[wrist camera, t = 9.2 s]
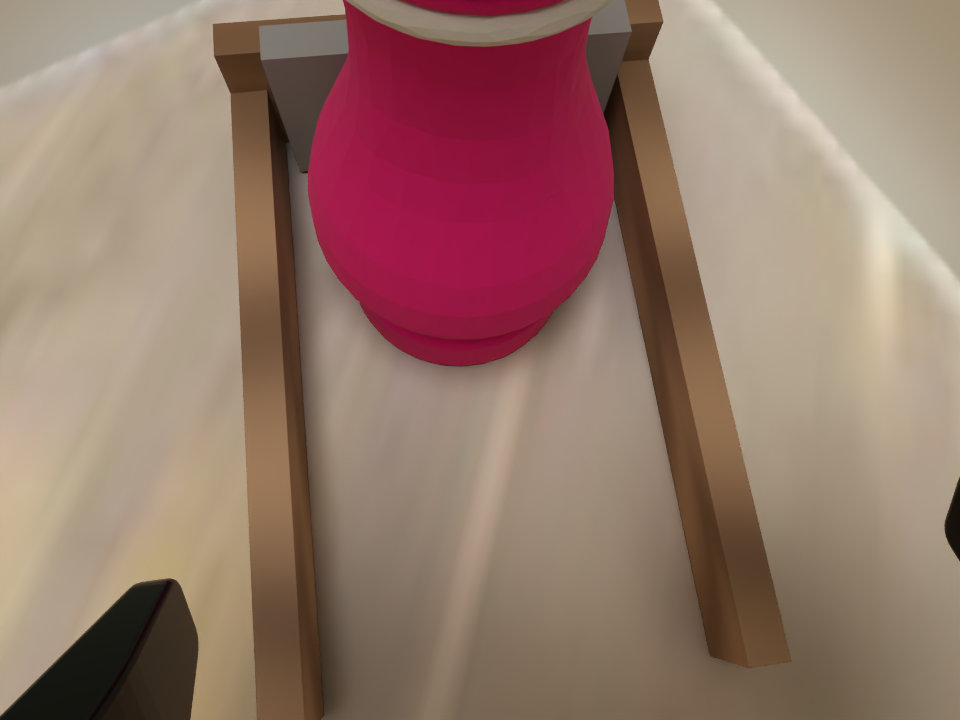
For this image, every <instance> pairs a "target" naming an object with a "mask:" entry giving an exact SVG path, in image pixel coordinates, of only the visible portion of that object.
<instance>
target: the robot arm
mask: <svg viewBox="0 0 960 720" xmlns="http://www.w3.org/2000/svg"><path fill="white" fill-rule="evenodd" d="M945 535H946V538H947V541H948V543H949V545H950V547H951V548H952V550H953V551H954V553H955V555H956V556H957V558H958V559H959V561H960V478H959V480H958V483H957V486H956V489H955V492H954V495H953V498H952V501H951V504H950V507H949V510H948V514H947V517H946V520H945ZM197 659H198V635H197V630H196V627H195V624H194V622H193V619H192V616H191V613H190V610H189V608H188V605H187V602H186V599H185V597H184V594H183V591H182V588H181V586H180V584H179V583H178V582H177V581H176V580H174V579H170V578H168V579H160V580H153V581H146V582H140V583H137V584H135V585H133V586H132V587H131V588H130V589H128V590H127V591H126V592H125V593H124V594H123V595H122V596H121V597H120V598H119V599H118V600H117V601H116V602H115V603H114V604H113V605H112V606H111V607H110V608H109V609H108V610H107V611H106V612H105V613H104V614H103V615H102V616H101V617H100V618H99V619H98V620H97V621H96V622H95V623H94V624H93V625H92V626H91V627H90V628H89V629H88V630H87V631H86V632H85V633H84V634H83V635H82V636H81V637H80V638H79V639H78V640H77V641H76V642H75V643H74V644H73V645H72V646H71V647H70V648H69V649H68V650H67V651H66V652H65V653H64V654H63V655H62V656H61V657H60V658H59V659H57V660H56V661H55V662H54V663H53V664H52V665H51V666H50V667H49V668H48V669H47V670H46V671H45V672H44V673H43V674H42V675H41V676H40V677H39V678H38V679H37V680H36V681H35V682H34V683H33V684H32V685H31V686H30V687H29V688H28V689H27V690H26V691H25V692H24V693H23V694H22V695H21V696H20V697H19V698H18V699H17V700H16V701H15V702H14V703H13V704H12V705H11V706H10V707H9V708H8V709H7V710H6V711H5V712H4V713H3V714H2V715H1V716H0V720H190V717H191V709H192V701H193V692H194V684H195V676H196V667H197Z"/></svg>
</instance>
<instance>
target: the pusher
mask: <svg viewBox="0 0 960 720" xmlns="http://www.w3.org/2000/svg"><path fill="white" fill-rule="evenodd" d="M631 33H632V30H631V26H630V21H629V17H628V13H627V8H626V4H625V0H614V1H613V2H611V3H610V4H609V5H607V6H606V7H605V8H603V9H602V10H601V11H599V12H598V13H597V14H595V15H594V16H593V17H592V19H591V23H590V28H589V32H588V37H587V42H586V47H585V54H586V61H587V65H588V69H589V72H590V76H591V79H592V82H593V85H594V88H595V91H596V94H597V97H598V100H599V103H600V106H601V109H602V112H603V113H604V110H605V108H606V105H607V102H608V99H609V96H610V93H611V90H612V87H613V85H614V82H615V79H616V76H617V73H618V70H619V67H620V64H621V62H622V59H623V56H624V53H625V50H626V47H627V44H628V41H629V38H630V36H631ZM259 37H260V54H261V62H262V65H263V68H264V70H265V73H266V76H267V79H268V82H269V85H270V87H271V90H272V93H273V96H274V99H275V101H276V104H277V107H278V110H279V113H280V115H281V118H282V121H283V124H284V127H285V129H286V132H287V135H288V138H289V141H290V144H291V146H292V149H293V152H294V155H295V158H296V160H297V163H298V166H299V169H300V172H304V171H308V169H309V162H310V156H311V149H312V144H313V140H314V135H315V131H316V126H317V122H318V118H319V115H320V113H321V111H322V108H323V106H324V103H325V101H326V99H327V97H328V95H329V93H330V91H331V89H332V87H333V85H334V83H335V81H336V79H337V77H338V75H339V73H340V71H341V69H342V67H343V66H344V64H345V62H346V60H347V57H348V50H349V46H348V35H347V23H346V20H335V21H321V22H307V23H294V24H280V25H266V26H259Z"/></svg>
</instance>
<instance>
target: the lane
mask: <svg viewBox="0 0 960 720" xmlns="http://www.w3.org/2000/svg"><path fill="white" fill-rule="evenodd" d="M625 4H626V8H627V13H628V17H629V21H630V26H631V30H632V33H631V36H630V38H629V41H628V44H627V47H626V50H625V53H624V56H623V59H622V62H621V64H620V67H619V70H618V73H617V76H616V79H615V82H614V85H613V87H612V90H611V93H610V96H609V99H608V102H607V105H606V108H605V110H604V113H603V115H604V118H605V121H606V124H607V127H608V130H609V138H610V145H611V153H612V161H613V170H614V197H615V202H616V206H617V211H618V216H619V221H620V226H621V230H622V235H623V240H624V245H625V250H626V254H627V259H628V264H629V269H630V273H631V278H632V283H633V288H634V293H635V297H636V302H637V307H638V312H639V317H640V321H641V326H642V331H643V336H644V341H645V345H646V350H647V355H648V360H649V365H650V369H651V374H652V379H653V384H654V389H655V393H656V398H657V403H658V408H659V413H660V417H661V422H662V427H663V432H664V437H665V441H666V446H667V451H668V456H669V461H670V465H671V470H672V475H673V480H674V485H675V489H676V494H677V499H678V504H679V509H680V513H681V518H682V523H683V528H684V533H685V537H686V542H687V547H688V552H689V557H690V561H691V566H692V571H693V576H694V581H695V585H696V590H697V595H698V600H699V604H700V609H701V614H702V619H703V624H704V628H705V633H706V638H707V643H708V648H709V652H710V656H712V657H715V658H718V659H722V660H725V661H728V662H731V663H735V664H738V665H741V666H744V667H748V668H753V667H760V666H766V665H772V664H779V663H785V662H791V658H790V654H789V650H788V645H787V641H786V637H785V633H784V629H783V624H782V620H781V616H780V612H779V608H778V603H777V599H776V595H775V591H774V586H773V582H772V578H771V574H770V570H769V565H768V561H767V557H766V553H765V549H764V544H763V540H762V536H761V532H760V528H759V523H758V519H757V515H756V511H755V506H754V502H753V498H752V494H751V490H750V485H749V481H748V477H747V473H746V469H745V464H744V460H743V456H742V452H741V448H740V443H739V439H738V435H737V431H736V426H735V422H734V418H733V414H732V410H731V405H730V401H729V397H728V393H727V389H726V384H725V380H724V376H723V372H722V368H721V363H720V359H719V355H718V351H717V346H716V342H715V338H714V334H713V330H712V325H711V321H710V317H709V313H708V309H707V304H706V300H705V296H704V292H703V288H702V283H701V279H700V275H699V271H698V266H697V262H696V258H695V254H694V250H693V245H692V241H691V237H690V233H689V229H688V224H687V220H686V216H685V212H684V208H683V203H682V199H681V195H680V191H679V187H678V182H677V178H676V174H675V170H674V165H673V161H672V157H671V153H670V149H669V144H668V140H667V136H666V132H665V128H664V123H663V119H662V115H661V111H660V107H659V102H658V98H657V94H656V90H655V85H654V81H653V77H652V73H651V69H650V64H649V60H648V59H649V56H650V54H651V51H652V49H653V46H654V44H655V41H656V39H657V36H658V34H659V31H660V29H661V26H662V24H663V18H662V14H661V10H660V6H659V2H658V0H625ZM335 20H346V14H345V15H331V16H317V17H303V18H289V19H276V20H262V21H248V22H234V23H220V24H213V40H214V57H215V59H216V61H217V64H218V66H219V68H220V70H221V73H222V75H223V77H224V79H225V82H226V84H227V86H228V88H229V91H230V93H231V114H232V138H233V161H234V185H235V208H236V232H237V256H238V279H239V303H240V326H241V350H242V373H243V397H244V420H245V444H246V467H247V491H248V515H249V538H250V562H251V585H252V609H253V632H254V656H255V679H256V703H257V720H321V718H322V717H323V716H324V709H323V694H322V679H321V664H320V649H319V634H318V619H317V604H316V589H315V573H314V558H313V543H312V528H311V513H310V498H309V483H308V468H307V453H306V438H305V423H304V408H303V392H302V377H301V362H300V347H299V332H298V317H297V302H296V287H295V272H294V257H293V242H292V227H291V212H290V196H289V181H288V166H287V151H286V142H290V141H289V138H288V135H287V132H286V129H285V127H284V124H283V121H282V118H281V115H280V113H279V110H278V107H277V104H276V101H275V99H274V96H273V93H272V90H271V87H270V85H269V82H268V79H267V76H266V73H265V70H264V68H263V65H262V62H261V54H260V37H259V26H266V25H280V24H294V23H307V22H321V21H335Z"/></svg>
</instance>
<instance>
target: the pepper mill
mask: <svg viewBox="0 0 960 720" xmlns="http://www.w3.org/2000/svg"><path fill="white" fill-rule="evenodd" d="M613 1H614V0H343V2H344V6H345V12H346V23H347V35H348V46H349V50H348V57H347V60H346V62H345V64H344V66H343V67H342V69H341V71H340V73H339V75H338V77H337V79H336V81H335V83H334V85H333V87H332V89H331V91H330V93H329V95H328V97H327V99H326V101H325V103H324V106H323V108H322V111H321V113H320V115H319V118H318V122H317V126H316V131H315V135H314V140H313V144H312V149H311V156H310V162H309V169H308V195H309V201H310V206H311V212H312V217H313V222H314V226H315V230H316V235H317V239H318V242H319V244H320V247H321V249H322V251H323V254H324V256H325V258H326V260H327V262H328V264H329V265H330V267H331V268H332V270H333V271H334V273H335V274H336V276H337V278H338V279H339V280H340V281H341V283H342V284H343V285H344V286H345V287H346V288H347V289H348V290H349V292H350V293H351V294H352V295H353V296H354V297H355V298H356V299H357V300H358V301H359V302H360V304H361V307H362V309H363V311H364V312H365V314H366V316H367V317H368V319H369V320H370V322H371V323H372V324H373V325H374V327H375V328H376V329H377V330H378V331H379V332H380V333H381V334H382V335H383V336H384V338H385V339H387V340H388V341H389V342H390V343H392V344H393V345H394V346H396V347H398V348H399V349H401V350H402V351H404V352H406V353H408V354H410V355H412V356H414V357H416V358H419V359H421V360H425V361H428V362H432V363H437V364H442V365H453V366H465V365H473V364H482V363H485V362H489V361H492V360H495V359H498V358H502V357H504V356H506V355H508V354H510V353H512V352H514V351H516V350H517V349H519V348H520V347H522V346H523V345H525V344H526V343H527V342H528V341H529V340H530V339H531V338H533V337H534V336H535V335H536V334H537V333H538V332H539V331H540V329H541V328H542V327H543V326H544V324H545V323H546V322H547V320H548V319H549V317H550V315H551V314H552V312H553V310H554V309H556V308H557V307H558V306H559V305H560V304H562V303H563V302H564V301H565V300H566V299H568V298H569V297H570V295H571V294H572V293H573V292H574V291H575V290H576V288H577V287H578V286H579V285H580V284H581V282H582V281H583V280H584V279H585V278H586V276H587V275H588V273H589V271H590V269H591V268H592V266H593V264H594V263H595V261H596V259H597V257H598V254H599V251H600V249H601V246H602V243H603V240H604V238H605V233H606V229H607V225H608V220H609V216H610V212H611V207H612V203H613V199H614V170H613V161H612V153H611V145H610V138H609V130H608V127H607V124H606V121H605V118H604V115H603V112H602V109H601V106H600V103H599V100H598V97H597V94H596V91H595V88H594V85H593V82H592V79H591V76H590V72H589V69H588V65H587V61H586V54H585V47H586V42H587V37H588V32H589V28H590V23H591V19H592V17H593V16H594V15H595V14H597V13H598V12H599V11H601V10H602V9H603V8H605V7H606V6H607V5H609V4H610V3H611V2H613Z"/></svg>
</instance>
